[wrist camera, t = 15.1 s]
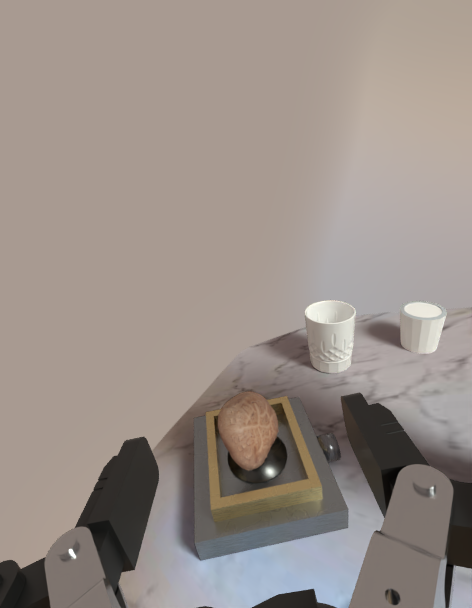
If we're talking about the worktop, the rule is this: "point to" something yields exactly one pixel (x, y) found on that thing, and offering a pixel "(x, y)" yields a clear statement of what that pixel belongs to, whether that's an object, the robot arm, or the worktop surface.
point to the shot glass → (421, 326)
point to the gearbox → (265, 486)
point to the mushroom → (248, 428)
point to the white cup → (330, 335)
